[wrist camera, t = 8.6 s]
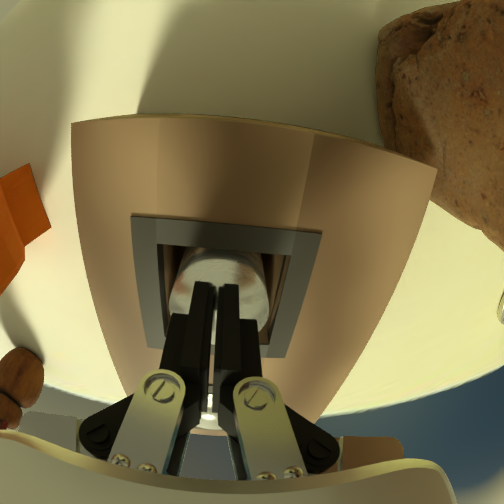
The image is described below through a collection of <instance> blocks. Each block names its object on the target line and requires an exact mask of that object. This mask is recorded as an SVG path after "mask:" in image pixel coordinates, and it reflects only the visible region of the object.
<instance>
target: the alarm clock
mask: <svg viewBox="0 0 504 504" xmlns="http://www.w3.org/2000/svg"><path fill="white" fill-rule="evenodd" d="M50 228H51V225H50V223H49V220H48V218H47V215H46V213H45V210H44V207H43V204H42V202H41V199H40V196H39V193H38V190H37V187H36V184H35V181H34V178H33V174H32V171H31V167H30V164H26V165H24V166H22V167H20V168H18V169H17V170H15V171H13V172H11V173H9V174H7V175H5V176H3V177H2V178H0V296H1V294H2V293H3V292H4V290H5V289H6V288H7V286H8V285H9V284H10V282H11V281H12V280H13V279H14V277H15V276H16V275H17V273H18V271H19V270H20V268H21V266H22V264H23V262H24V261H25V246H26V245H27V244H29V243H30V242H31V241H33V240H34V239H36V238H37V237H38V236H40V235H41V234H43V233H44V232H45V231H47V230H48V229H50Z"/></svg>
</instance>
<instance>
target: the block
mask: <svg viewBox="0 0 504 504" xmlns="http://www.w3.org/2000/svg"><path fill="white" fill-rule="evenodd" d="M378 41H379V47H378V55H377V65H376V87H377V101H378V115H379V121H380V127H381V133H382V137H383V140H384V144H385V148H387V149H389V150H392V151H395V152H398V153H400V154H403V155H405V156H408V157H410V158H413V159H415V160H418V161H420V162H423V163H425V164H427V165H430V166H432V167H434V168H436V169H438V170H437V174H436V178H435V181H434V185H433V188H432V192H431V195H430V199H429V200H431V201H432V202H434V203H435V204H437V205H438V206H440V207H441V208H443V209H444V210H445V211H447V212H448V213H450V214H451V215H453V216H454V217H456V218H457V219H459V220H460V221H462V222H464V223H465V224H467V225H469V226H471V227H473V228H475V229H479V230H482V232H483V233H484V235H485V236H486V237H487V238H488V239H489V240H491V241H492V242H493V243H495V244H496V245H497V246H498V247H499V248H501V249H502V250H503V251H504V0H461V1H458V2H453V3H447V4H442V5H436V6H431V7H426V8H423V9H420V10H418V11H415V12H413V13H411V14H407V15H403V16H401V17H400V18H398V19H396V20H394V21H392V22H390V23H389V24H387V25H385V26H384V27H383V28H382V29H381V30H380V32H379V36H378Z"/></svg>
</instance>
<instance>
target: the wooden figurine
mask: <svg viewBox="0 0 504 504" xmlns="http://www.w3.org/2000/svg"><path fill="white" fill-rule="evenodd" d="M43 382H44V368H43V366H42V363H41V361H40V359H39V358H38V357H37V356H36V355H34V354H33V353H32V352H30V351H28V350H27V349H24V348H20V347H19V348H15V349H13V350H11V351H10V352H8V353H7V354H6V355H5V356H4V357H3V358H2V359H1V361H0V430H6V428H10V429H15V428H17V427H18V426H19V423H20V420H21V417H22V410H21V408H20V407H22V408H29V407H31V406H32V405H34V404H35V403H36V401H37V399H38V398H39V396H40V393H41V391H42V387H43Z"/></svg>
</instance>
